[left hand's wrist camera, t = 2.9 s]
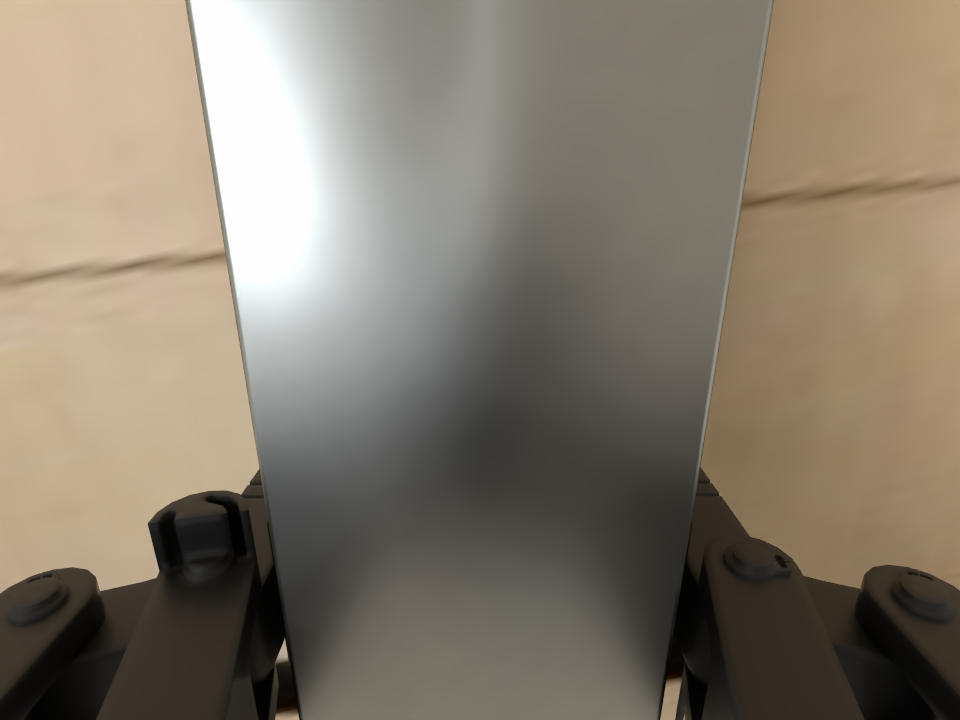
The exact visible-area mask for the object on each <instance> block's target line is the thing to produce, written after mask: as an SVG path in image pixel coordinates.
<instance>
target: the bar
mask: <svg viewBox="0 0 960 720" xmlns="http://www.w3.org/2000/svg"><path fill="white" fill-rule="evenodd" d="M185 1H186V8H187V14H188V20H189V26H190V33H191V39H192V45H193V52H194V58H195V64H196V71H197V77H198V83H199V89H200V96H201V102H202V108H203V115H204V121H205V127H206V134H207V140H208V146H209V152H210V159H211V165H212V171H213V178H214V184H215V190H216V197H217V203H218V209H219V215H220V222H221V228H222V234H223V241H224V247H225V253H226V260H227V266H228V272H229V278H230V285H231V291H232V297H233V304H234V310H235V316H236V323H237V329H238V335H239V341H240V348H241V354H242V360H243V367H244V373H245V379H246V386H247V392H248V398H249V404H250V411H251V417H252V423H253V430H254V436H255V442H256V449H257V455H258V461H259V467H260V474H261V480H262V486H263V493H264V499H265V505H266V512H267V518H268V524H269V530H270V537H271V543H272V549H273V556H274V562H275V568H276V575H277V581H278V587H279V593H280V600H281V606H282V612H283V619H284V625H285V631H286V638H287V644H288V650H289V656H290V663H291V669H292V675H293V682H294V688H295V694H296V701H297V707H298V713H299V719H300V720H660V717H661V710H662V704H663V698H664V691H665V685H666V679H667V672H668V666H669V660H670V653H671V647H672V641H673V635H674V628H675V622H676V616H677V609H678V603H679V597H680V590H681V584H682V578H683V571H684V565H685V559H686V552H687V546H688V540H689V533H690V527H691V521H692V514H693V508H694V502H695V496H696V489H697V483H698V477H699V470H700V464H701V458H702V451H703V445H704V439H705V432H706V426H707V420H708V413H709V407H710V401H711V394H712V388H713V382H714V375H715V369H716V363H717V357H718V350H719V344H720V338H721V331H722V325H723V319H724V312H725V306H726V300H727V293H728V287H729V281H730V274H731V268H732V262H733V255H734V249H735V243H736V236H737V230H738V224H739V218H740V211H741V205H742V199H743V192H744V186H745V180H746V173H747V167H748V161H749V154H750V148H751V142H752V135H753V129H754V123H755V116H756V110H757V104H758V97H759V91H760V85H761V78H762V72H763V66H764V60H765V53H766V47H767V41H768V34H769V28H770V22H771V15H772V9H773V3H774V0H185Z"/></svg>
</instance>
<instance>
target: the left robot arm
mask: <svg viewBox="0 0 960 720" xmlns="http://www.w3.org/2000/svg"><path fill="white" fill-rule="evenodd" d="M148 527H149V531H150V535H151V539H152V543H153V547H154V551H155V555H156V559H157V563H158V567H159V571H160V572H159V574H158V576H157V578H155V579H152V580H148V581H145V582H141V583H136V584H132V585H127V586H122V587H118V588H113V589H109V590H104V591H100V590H99V586H98V583H97V580H96V577H95V576H94V575H93V574H92V573H91V572H89V571H88V570H85V569H79V568H73V567H72V568H64V569H55V570H51V571H47V572H43V573H41V574H37V575H34V576H31V577H29V578H27V579H25V580H23V581H21V582H19V583H17V584H15V585H13V586H11V587H9V588H8V589H6V590H5V591H3V592H2V593H1V594H0V720H275V714H276V705H277V696H278V687H279V684H278V677H277V670H276V665H275V661H276V659H277V656H278V654H279V651H280V649H281V646H282V644H283V641H284V639H285V640H286V646H287V653H288V659H289V663H290V656H289V650H288V644H287V638H286V631H285V625H284V619H283V612H282V606H281V600H280V593H279V587H278V581H277V575H276V568H275V562H274V556H273V549H272V543H271V537H270V530H269V524H268V518H267V512H266V505H265V499H264V493H263V486H262V480H261V474H260V469H259V470H258V472H257V473H256V475H255V476H254V477H253V479H252V480H251V482H250V485H248V486H247V487H246V489H245V490H244V492H243V493H242V494H241V495H240V494H238V493H233V492H229V491H207V492H202V493H198V494H193V495H189V496H187V497H184V498H182V499H179V500H177V501H175V502H172V503H171V504H169V505H168V506H166V507H165V508H163V509H162V510H160V511H158V512H157V513H156V514H155V516H154V517H153V518H152V519H151V520H150V521H149V523H148ZM675 637H676V640H677V642H678V645H679V647H680V650H681V652H682V654H683V657H684V659H685V665H684V670H683V676H682V682H681V688H680V694H679V700H678V705H677V712H676V719H675V720H683V718H684V713H685V720H960V591H959V590H958V589H956V588H955V587H954V586H952V585H950V584H948V583H946V582H944V581H942V580H940V579H938V578H936V577H934V576H933V575H931V574H928V573H925V572H922V571H918V570H916V569H911V568H908V567H901V566H893V565H884V566H878V567H873V568H871V569H870V570H869V571H868V572H867V573H866V574H865V575H864V578H863V581H862V585H861V588H860V589H858V588H853V587H849V586H844V585H839V584H835V583H830V582H825V581H821V580H817V579H813V578H810V577H806V576H803V575H802V573H801V571H800V569H799V568H798V566H797V565H796V564H795V562H794V561H793V559H792V558H791V557H789V556H788V555H787V554H785V553H784V552H783V551H781V550H780V549H779V548H777V547H775V546H773V545H771V544H769V543H767V542H764V541H762V540H760V539H756V538H752V537H750V536H749V535H748V533H747V532H746V531H745V529H744V528H743V526H742V525H741V524H740V522H739V521H738V519H737V518H736V517H735V515H734V514H733V512H732V511H731V509H730V508H729V507H728V505H727V504H726V502H725V501H724V500H723V498H722V497H721V496H719V493H718V491H717V490H716V488H715V487H714V486H713V484H710V480H709V479H708V477H707V476H706V474H705V473H704V471H703V470H702V469H701V467H700V470H699V477H698V483H697V489H696V496H695V502H694V508H693V514H692V521H691V527H690V533H689V540H688V546H687V552H686V559H685V565H684V571H683V578H682V584H681V590H680V597H679V603H678V609H677V616H676V622H675V628H674V635H673V641H672V647H671V653H670V660H669V663H671V656H672V650H673V644H674V638H675Z"/></svg>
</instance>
